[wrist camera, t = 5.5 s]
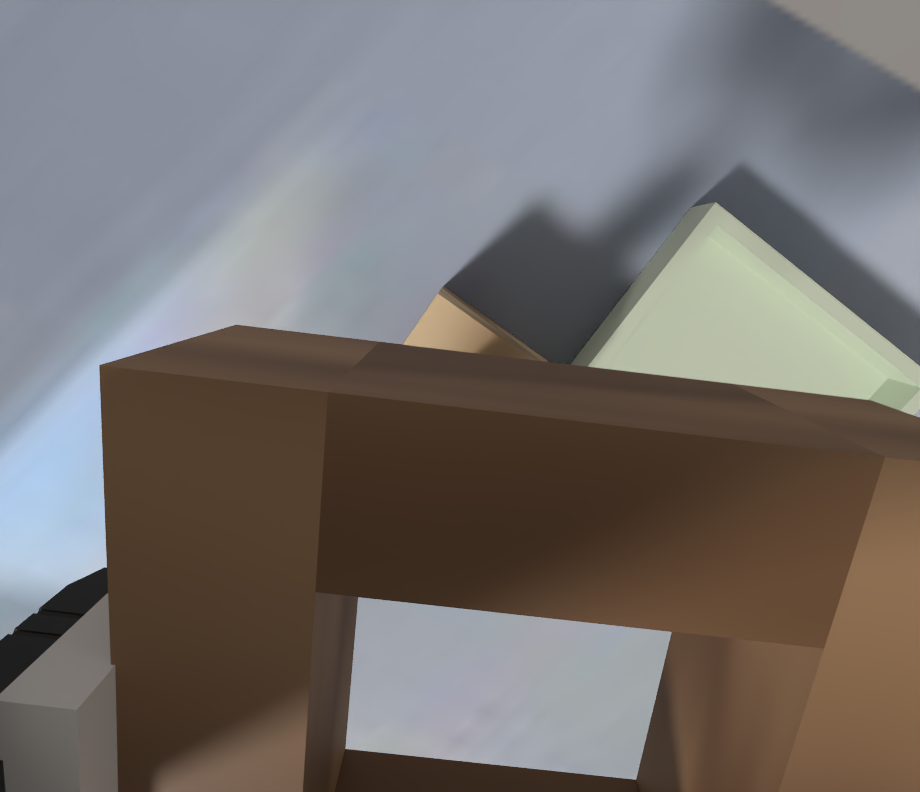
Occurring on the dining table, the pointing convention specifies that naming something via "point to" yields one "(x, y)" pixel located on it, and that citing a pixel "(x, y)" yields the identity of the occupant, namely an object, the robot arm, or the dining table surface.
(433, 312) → the block with upright handle
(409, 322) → the dining table surface
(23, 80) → the dining table surface
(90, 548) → the dining table surface
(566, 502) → the ring
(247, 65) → the dining table surface
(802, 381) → the tray
